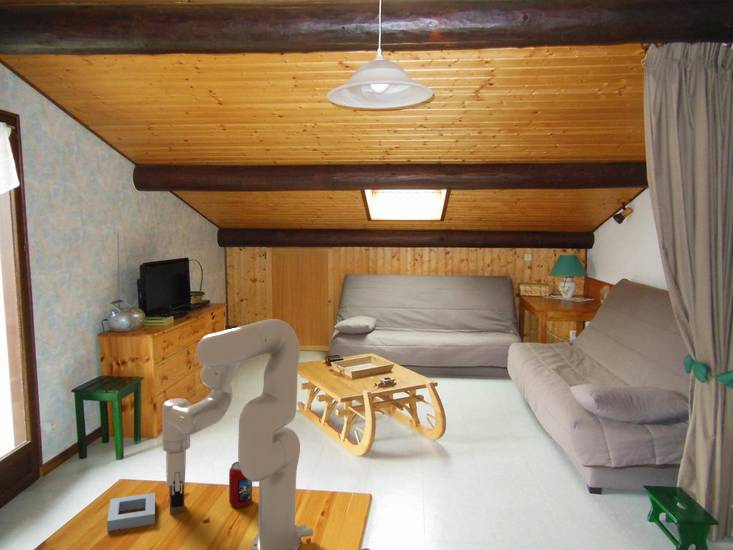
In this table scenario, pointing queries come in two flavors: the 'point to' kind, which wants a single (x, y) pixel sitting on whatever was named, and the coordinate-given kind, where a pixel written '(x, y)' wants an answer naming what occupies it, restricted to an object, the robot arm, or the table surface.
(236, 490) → the beverage can
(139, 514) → the grey square frame
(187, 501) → the table surface
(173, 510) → the walnut peg
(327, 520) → the table surface
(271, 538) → the robot arm
